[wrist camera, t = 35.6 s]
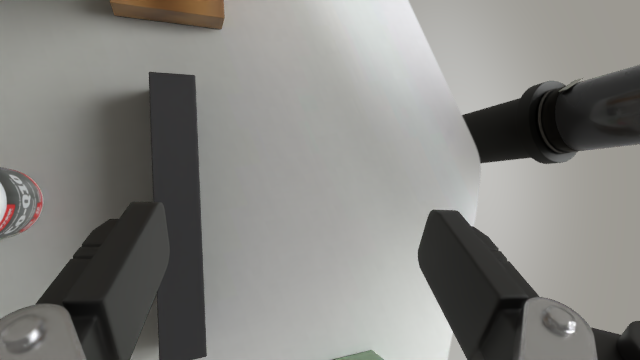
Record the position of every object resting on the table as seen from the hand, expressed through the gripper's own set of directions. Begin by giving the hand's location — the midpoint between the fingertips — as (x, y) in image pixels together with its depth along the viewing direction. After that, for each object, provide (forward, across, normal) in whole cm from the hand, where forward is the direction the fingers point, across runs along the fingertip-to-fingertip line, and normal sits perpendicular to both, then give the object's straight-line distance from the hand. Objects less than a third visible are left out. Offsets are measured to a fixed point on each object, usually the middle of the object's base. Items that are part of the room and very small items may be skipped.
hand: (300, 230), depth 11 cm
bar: (+15, +8, +10) cm, 20 cm away
